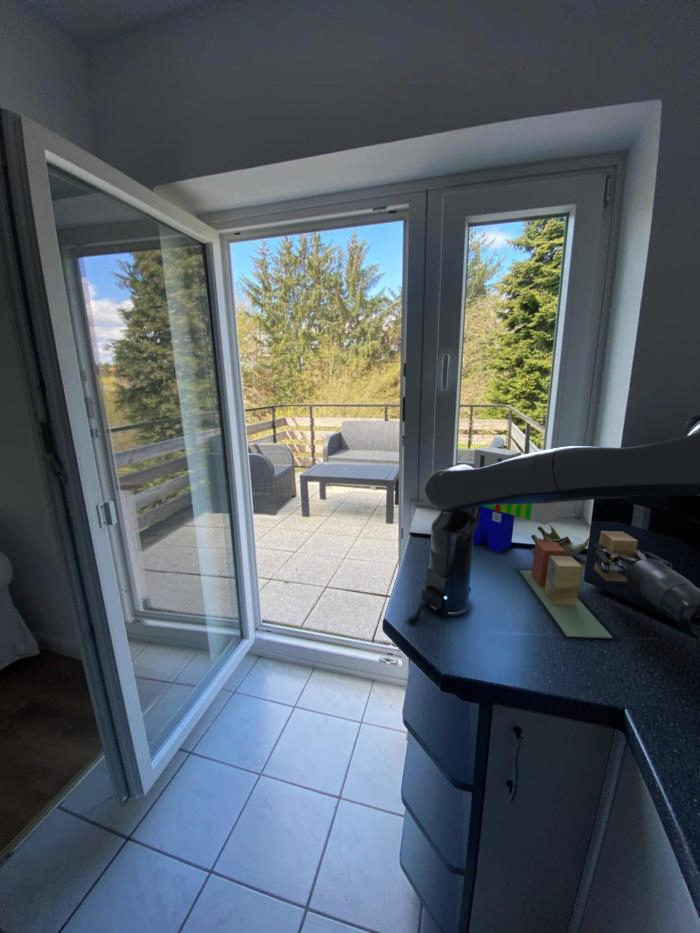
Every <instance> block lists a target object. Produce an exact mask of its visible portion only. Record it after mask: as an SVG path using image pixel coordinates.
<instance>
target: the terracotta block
mask: <svg viewBox="0 0 700 933" xmlns="http://www.w3.org/2000/svg"><path fill="white" fill-rule="evenodd" d="M534 549H535V551H534V553H533V561H532V568H531V570H532V577H533V579H534V580H535V581H536V583H537V584H538V585H539V587H545V585H546V578H547V570H548V563H549V556H565V550H564V549H563V548H562V547H561V546H560V545H559V544H557V543H556V542H536V544H535V543H534Z"/></svg>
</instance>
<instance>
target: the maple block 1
mask: <svg viewBox="0 0 700 933" xmlns="http://www.w3.org/2000/svg"><path fill="white" fill-rule="evenodd" d="M582 571H583V566H582V565H581V563H579V562H578V561H577V560H576V559H575V558H574V557H573V556H549V563H548V570H547V578H546V585H545V592H544V593H545V594H546V595H547V597H548V598H549V599H550V601H551V602H552V603H553V605H570V606H576V603H577V598H578V596H579V591H580V590H579V589H580V584H581V578H582Z"/></svg>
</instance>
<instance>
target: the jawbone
mask: <svg viewBox="0 0 700 933" xmlns="http://www.w3.org/2000/svg"><path fill="white" fill-rule="evenodd" d="M548 527H549V528H550V531H551V532H550V533H549V532H547V531H546V530H545V529H544V528H543V527H542V526H537V530H538V532H540V534H541V536H542V538H541V537H537V535H536V534H531V535H530V536H531V539H532V541H533V542H534V545H535V544H536V542H556V543H557V544H559V545H560V546H561V547H562V548H563V549H564V550H565V556H572V557H573V556H576V555H578V554H580V553H581V552H583V551H584V550H585V549H586V548H587V547H588V545H589V544H588V541H589V536H588V537H587V538H586V540H585V541H583V543H579V544H576V545H575V544H573V542H572V541H571V540H570V537H569V536H564V537H561V536H560V535H559V534H558V532H557V531H556V529H555V528H554V527H553V526H552V525H551V524H548ZM530 549H531V550H532V551H534V552H535V548H533V547H531V548H530Z"/></svg>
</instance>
